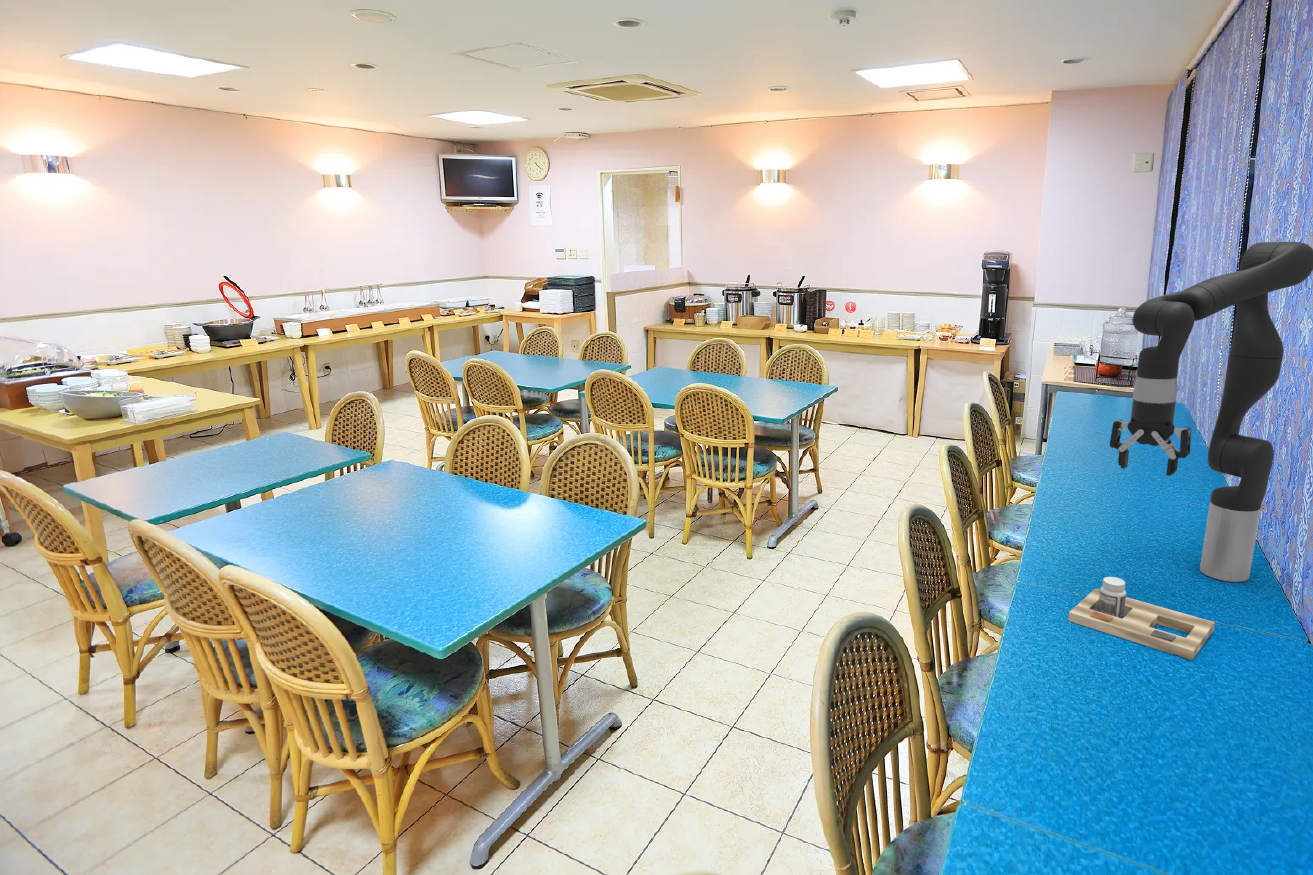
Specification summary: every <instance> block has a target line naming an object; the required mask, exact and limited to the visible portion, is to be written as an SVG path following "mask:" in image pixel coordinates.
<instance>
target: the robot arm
mask: <svg viewBox="0 0 1313 875" xmlns="http://www.w3.org/2000/svg"><path fill="white" fill-rule="evenodd" d="M1239 267H1240V268H1239V270H1237V271H1234V272H1230V273H1225V274H1221V275H1217V276H1213V277H1210V278H1207V279H1205V280H1202V281H1201V282H1198V283H1195V284H1194V285H1191V286H1190V287H1187V288H1184V290H1180V291H1176V292H1171V293H1168V294H1167V293H1166V294H1164V295H1160V296H1159V295H1158V296H1155V297H1154V298H1150V299H1148V300H1146V301H1144V302H1143V303H1141V304H1140V305H1139V306H1138V307H1137V308H1136V309H1135V311H1134V313H1133V316H1132V325H1133V327H1134V328H1135V330H1136V331H1137V332H1139V333H1141V334H1143V335H1146V336H1147V335H1148V336H1156V337H1157V336H1158V337H1160V340H1159V341H1158V343H1157V345H1156V346H1148V347H1145V348H1142V350H1141V351H1140V352H1139V354H1138V360H1137V369H1136V377H1135V383H1134V385H1133V391H1132V403H1131V404H1132V405H1131V412H1130V413H1131V414H1130V420H1129V421H1124V420H1122V419H1117V420H1115V421H1114V422H1113V423H1112V428H1111V435H1110V440H1109V447H1110V448H1111V449H1116V450H1117V451H1118V458H1117V459H1118V460H1117V464H1118V465H1119V466H1120V469H1126V468H1127V467H1128V465H1129V454H1130V450H1129V448H1130V447H1132V445H1134V443H1136V442H1137V443H1139V445H1149V446H1153V447H1157V446H1159V447H1160V448H1161V450H1162V451H1164V452H1165V453H1166V455H1167V456H1168V459H1167V464H1166V466H1167V467H1166V476H1167V477H1168V476H1169V477H1171V476H1172V475H1173V474H1175V473H1176V472H1177V471H1178V466H1179V459H1185V458H1187V457H1188V456H1190V455H1191V440H1192V428H1190V427H1189V426H1187V427H1185V428H1180V427H1175V425H1174V420H1175V419H1174V418H1175V411H1176V402H1177V397H1178V396H1177V395H1178V394H1177V393H1178V374H1179V372H1178V371H1179V363H1180V358H1181V356H1182V353H1183V352H1184V349H1185V346H1186V344H1187V341H1188V339H1189V337H1190V335H1191V332H1192V330H1193V328H1194V324H1195V322H1197V321H1201V320H1203V319H1206V318H1209V317H1210V316H1212V315H1214V314H1216V313H1219V312H1221V311H1223V310H1225V309H1226V308H1229V307H1231V306H1234V305H1236V315H1235V323H1234V328H1233V334H1232V335H1233V336H1232V341H1231V344H1230V349H1229V355H1228V360H1227V366H1226V370H1225V371H1226V372H1225V373H1226V374H1225V379H1224V386H1223V391H1222V392H1223V393H1222V395H1221V396H1222V398H1221V402H1220V407H1219V411H1218V415H1217V419H1216V422H1215V425H1214V428H1213V431H1212V436H1211V439H1210V442H1209V447H1208V450H1207V451H1208V453H1207V463H1208V466H1209V468H1210V469H1211V470H1212V471H1214V472H1217V473H1221V474H1226V475H1229V476H1233V477H1238V478H1240V482H1239V483H1238V485H1232V486H1231V485H1229V486H1221V487H1216V488H1214V489H1213V490H1211V493H1210V494H1211V495H1210V500H1209V505H1208V511H1207V513H1208V514H1207V519H1206V527H1205V531H1204V532H1205V534H1204V540H1203V545H1202V546H1203V547H1202V553H1201V560H1200V566H1199V570H1200V572H1201V573H1202V574H1204V575H1205V576H1207V577H1210V578H1213V579H1216V580H1219V581H1224V582H1231V583H1241V582H1246V581H1248V580H1249V578H1250V574H1251V568H1252V563H1253V556H1254V550H1255V546H1256V539H1257V538H1256V537H1257V533H1258V526H1259V522H1260V521H1259V520H1260V514H1261V510H1262V503H1263V501H1264V498H1265V496H1266V492H1267V489H1268V488H1267V487H1268V483H1269V479H1270V475H1271V472H1272V467H1273V463H1274V459H1275V458H1274V457H1275V452H1274V450H1275V449H1274V445H1273V444H1272V443H1271V442H1270V441H1268V440H1266V439H1264V438H1263V439H1262V438H1257V437H1253V436H1247V435H1242V434H1240V429H1241V425H1242V422H1243V420H1244V418H1245V416H1246V415H1247V413H1248V412H1249V410H1250V409H1251V408H1252V407H1253V406H1254V405H1255V404H1257V403H1258V401H1259V400H1261V399H1262V398H1263V397H1264V396H1265V395H1266V394H1267V393H1268V392H1269V391H1270V390H1271V389H1273V387H1274V386H1275V385H1276V383H1277V382H1278V380H1279V378H1280V373H1281V368H1282V364H1283V358H1284V353H1285V352H1284V344H1283V341H1282V339H1281V336H1280V335H1279V334H1280V333H1279V332H1278V330H1277V327H1276V326H1275V324H1274V322H1273V320H1272V317H1271V315H1270V311H1269V307H1268V306H1269V304H1268V302H1269V293H1271V292H1274V291H1277V290H1282V289H1285V288H1289V287H1293V286H1296V285H1300V284H1301V283H1303V282H1304V281H1305V280H1307V279H1308V278H1309V276H1310V275H1311V274H1312V272H1313V248H1312V246H1310V245H1309V244H1307V243H1304V242H1300V241H1263V242H1262V241H1261V242H1256V243H1253V244H1252V245H1250V246H1249V247H1248V248H1247V249H1246V251H1245V252H1244V254H1243V256H1242V259H1241V262H1240V266H1239ZM1126 428H1127V430H1128V431H1129V432H1130V434H1131V436H1130V437H1129V438H1128V439H1127V440H1126V441H1124V443H1123V442H1121V436H1122V432H1123V431H1125V429H1126ZM1174 434H1176V437H1177V439H1179V440H1180V441H1179V443H1180V444H1179V446H1180V447H1179V450H1178V449H1177V448H1176V446H1175V444H1174V442H1173V441H1172V439H1171V438H1170V437H1171V436H1173V435H1174Z"/></svg>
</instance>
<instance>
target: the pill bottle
mask: <svg viewBox="0 0 1313 875" xmlns="http://www.w3.org/2000/svg"><path fill="white" fill-rule="evenodd" d="M1125 588H1126V581H1125V580H1123V579H1121V578H1120V577H1117V576H1116V577H1115V576H1105V577H1104V578H1103V579H1102V586H1101V587H1100V588H1099V590H1100V595H1099V603H1098V608H1097V611H1098V612H1101V613H1105V614H1108V615H1111V616H1115V617H1118V618H1121V619H1123V618H1124V617H1125V614H1124V609H1125V600H1126V597H1127V591H1126V590H1125Z"/></svg>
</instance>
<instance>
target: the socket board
mask: <svg viewBox="0 0 1313 875" xmlns="http://www.w3.org/2000/svg"><path fill="white" fill-rule="evenodd" d="M1099 595H1100V588H1094V589H1093V590H1092V591H1091V592H1090V593H1089V594H1087V596H1086V597H1085V598H1083V599H1082V600H1081V601H1080V602H1079V603H1078V604H1077V605H1076V606H1074V607H1073V608H1072V609H1070V611H1069V612H1068V620H1067V621H1068V622H1071V623H1074V624H1077V625H1081V626H1084V627H1086V628H1090V629H1093V630H1096V631H1100V632H1103V633H1104V634H1105V633H1106V634H1109V635H1112V636H1115V637H1118V638H1121V639H1123V640H1127V641H1131V642H1134V643H1137V644H1140V645H1143V646H1147V647H1148V648H1149V647H1150V648H1152V649H1156V650H1159V651H1161V652H1166V653H1168V654H1171V655H1174V654H1175V656H1177V655H1178V656H1177V657H1180V658H1184V659H1187V660H1190V661H1193V660H1194V658H1195V657H1196V656H1197V654H1198V653H1199V651H1200V650H1201V649H1202V647H1203V646H1204V645H1205V643H1206V642H1207V641H1208V639H1209V638H1210V636H1211V635H1212V634H1213V633H1214V630H1215V623H1216V622H1215V621H1213V620H1208V619H1204V618H1201V617H1198V616H1194V615H1190V614H1187V613H1184V612H1179V611H1178V610H1177V611H1176V610H1174V609H1173V610H1172V609H1170V608H1166V607H1163V606H1160V605H1155V604H1151V603H1148V602H1145V601H1141V600H1137V599H1134V598H1131V597H1128V596H1126V600H1125V609H1124V617H1123V619H1121V618H1118V617H1115V616H1111V615H1108V614H1105V613H1101V612H1098V603H1099ZM1157 625H1160V626H1163V627H1166V628H1170V629H1172V630H1176V631H1180V632H1183V633H1187V634H1188V635H1187V636H1186V637H1184V636H1180V635H1177V634H1174V633H1171V632H1167V631H1164V630H1161V629H1158V628H1157V629H1156V628H1155V627H1156V626H1157Z"/></svg>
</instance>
